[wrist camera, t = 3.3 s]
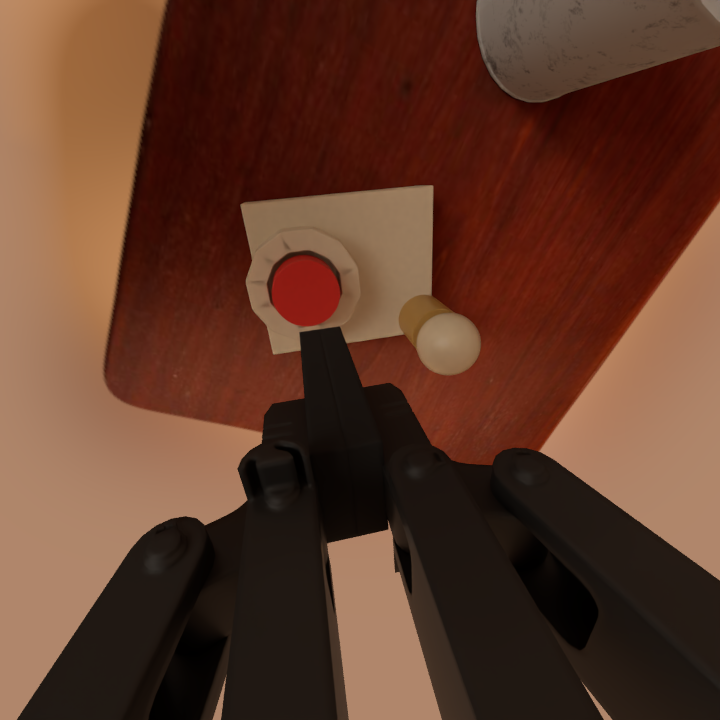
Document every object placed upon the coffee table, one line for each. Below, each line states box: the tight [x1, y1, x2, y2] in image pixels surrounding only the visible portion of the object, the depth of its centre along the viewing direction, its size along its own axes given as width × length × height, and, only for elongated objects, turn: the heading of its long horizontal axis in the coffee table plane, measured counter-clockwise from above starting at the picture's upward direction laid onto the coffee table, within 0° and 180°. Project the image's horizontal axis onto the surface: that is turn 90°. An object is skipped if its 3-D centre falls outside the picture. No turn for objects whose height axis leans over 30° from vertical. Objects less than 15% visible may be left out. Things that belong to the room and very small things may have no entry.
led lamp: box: [399, 295, 481, 375], centre depth 21 cm, size 4×4×6 cm
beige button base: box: [240, 185, 433, 354], centre depth 24 cm, size 10×12×4 cm
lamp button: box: [272, 255, 340, 326], centre depth 21 cm, size 4×4×2 cm
